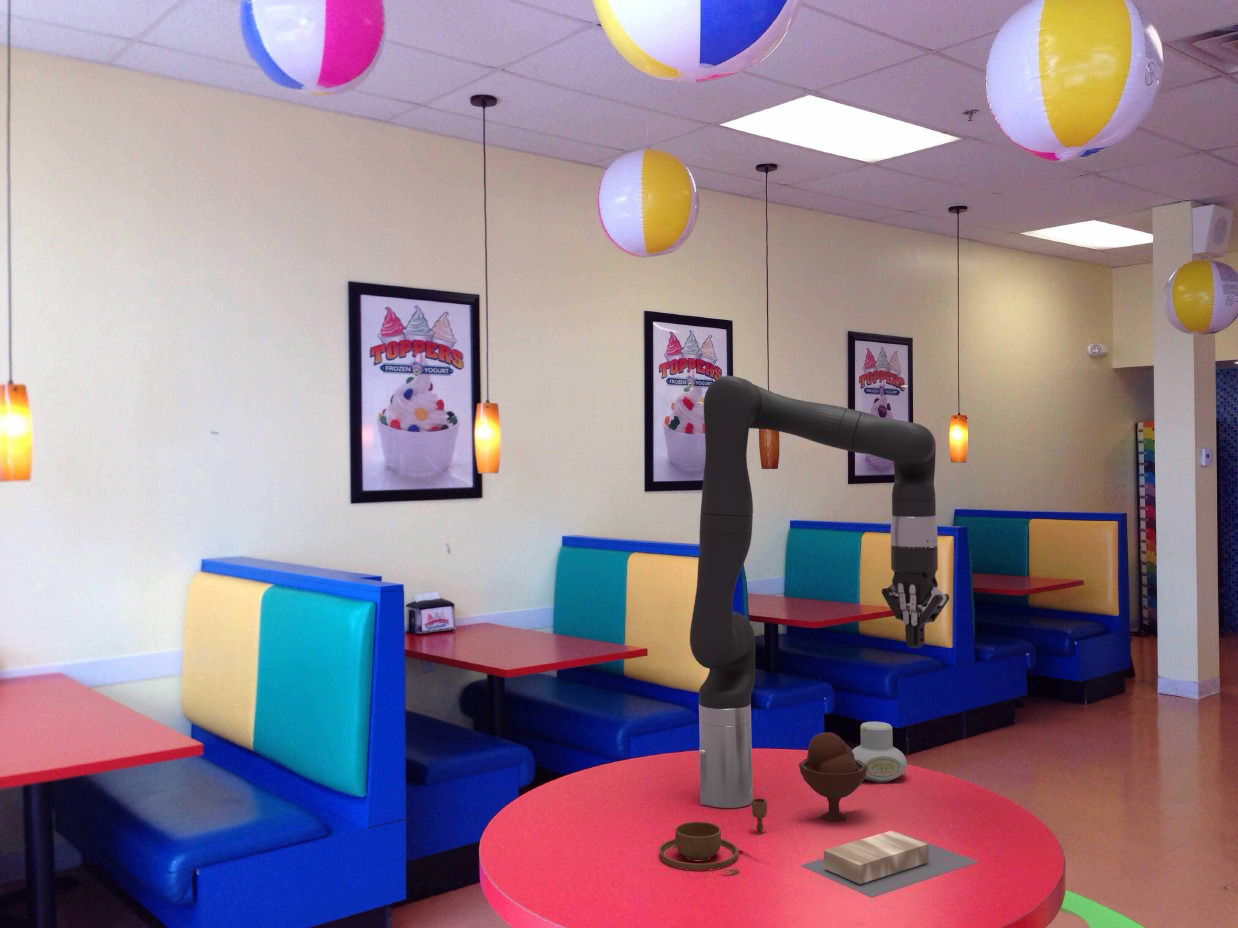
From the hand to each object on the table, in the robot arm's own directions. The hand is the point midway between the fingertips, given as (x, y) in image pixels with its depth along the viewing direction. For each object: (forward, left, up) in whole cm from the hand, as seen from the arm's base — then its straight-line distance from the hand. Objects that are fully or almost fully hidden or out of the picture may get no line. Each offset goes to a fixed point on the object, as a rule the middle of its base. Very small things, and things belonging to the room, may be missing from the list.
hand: (915, 647), depth 170 cm
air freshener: (-4, +24, -29) cm, 38 cm away
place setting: (-32, -18, -30) cm, 47 cm away
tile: (-4, -19, -26) cm, 33 cm away
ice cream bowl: (-14, -2, -29) cm, 32 cm away
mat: (-8, -22, -29) cm, 37 cm away
